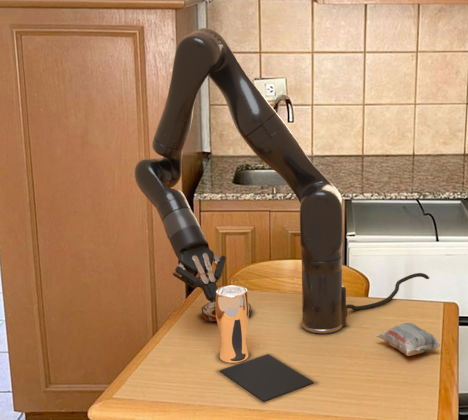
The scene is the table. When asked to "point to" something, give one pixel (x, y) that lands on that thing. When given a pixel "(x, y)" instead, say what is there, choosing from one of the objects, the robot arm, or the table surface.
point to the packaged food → (409, 339)
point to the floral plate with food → (213, 312)
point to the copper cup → (232, 322)
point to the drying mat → (266, 377)
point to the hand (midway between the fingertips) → (215, 300)
